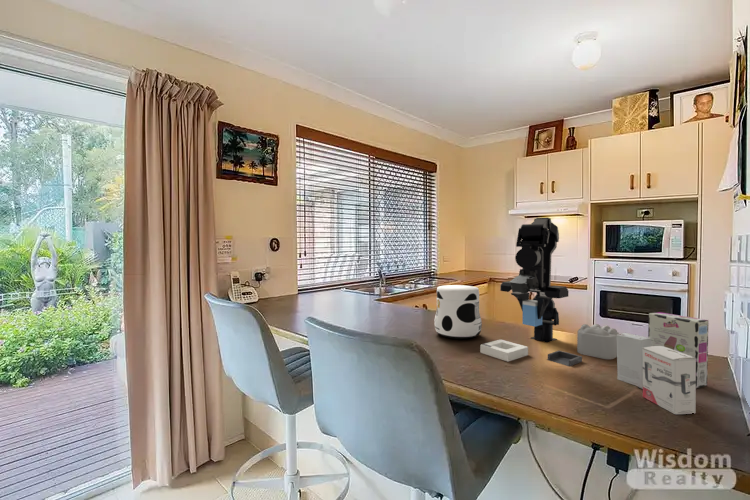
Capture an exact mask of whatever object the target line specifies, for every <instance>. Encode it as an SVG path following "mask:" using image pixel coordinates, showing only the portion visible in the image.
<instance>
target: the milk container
mask: <svg viewBox="0 0 750 500" xmlns="http://www.w3.org/2000/svg"><path fill="white" fill-rule="evenodd" d="M479 290H480V289H479V287H477V286H473V285H463V284H452V285H451V284H448V285H447V284H446V285H439V286H437V288H436V312H435V316H434V321H433V322H434V329H435V331H436V332H435V333H437V334H438V335H439V336H442V337H445V338H448V339H449V338H450V339H457V340H459V339H460V340H463V339H464V340H466V339H472V338H475V337H477V336H479V335H480V333H481V332H482V328H483V327H482V326H483V324H482V323H483V322H482V316H481V313H480V291H479Z"/></svg>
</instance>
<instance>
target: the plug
mask: <svg viewBox="0 0 750 500" xmlns="http://www.w3.org/2000/svg"><path fill="white" fill-rule="evenodd" d="M537 309H538V301H536V300H532V299H529V300H525V301H523V312H522V325H524V326H525V325H526V326H532V327H536V326H539V325H542V317H541V319H538V315H537Z"/></svg>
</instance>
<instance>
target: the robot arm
mask: <svg viewBox="0 0 750 500" xmlns="http://www.w3.org/2000/svg"><path fill="white" fill-rule="evenodd" d="M559 239H560V233H559V227H558V226H557V225H556V224H555V223H553V222H552V219H551V218H550V217H536V218H534V219H533V222H532V223H524V224H523V223H522V224H521V226H520V227H519V228H518V231H517V238H516V243H515V246H516V248H519V250H518V251H517V252H516V254H515V257H514V258H515V262H516V265H517V266H519V267H520V269H519V271H518V272H519V273H518V275H516V276H515V277H514V278H513V279H511V280H509V281H502V282H501V284H500V290H499V291H501V292H507V293H510V291H512V292H511V293H510V294H511V296H513V297H515V299H516V300H517V302H518V303H519V306H520V309H521V311H522V313H523V301H525V300H530V293H535V294H536V295H535V296H534V297H533V298H532V299H531V300H536V301H538V309H537V315H538V319H541V317H542V325H539V326H536V327H534V326H533V327H534V329H533V336H532V337H530V339H531V340H535V341H539V342H542V343H551V342H554V341H557V340H558V339H557V338H553V335H554V328H553V327H554V326H557V325H558V326H559V325H560V316H559V315H560V314H559V312H558V309H557V307H556V306H555V305H556V303H555V301H554V300H553V299H562V298H567V297H569V289H568V287H567V286H562V285H552V283H551V282H552V281H551V280H552V278H551V277H552V275H551V273H552V254H553V253H554V252H555V250H556V249H557V248H558V247H557V245H558V243H559V242H560V240H559ZM520 248H521V249H520ZM521 268H522V269H521Z"/></svg>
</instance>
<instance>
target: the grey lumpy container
mask: <svg viewBox="0 0 750 500" xmlns="http://www.w3.org/2000/svg"><path fill="white" fill-rule="evenodd" d="M618 334H620V332H618V330H617V329H616V328H611V327H610V325H607V324H606V325H603V326H601V325H600V324H598V323H594V324H592V325H590V326H589V325H588V324H585V323H584V324H582V325H581V326H580V328H579V329H578V330H577V335H576V336H577V337H576V338H577V341H576V343H577V344H576V346H577V347H576V349H577V351H576V352H577V353H578V354H580V355H581V356H589V357H594V358H596V359H597V358H598V359H603V360H613V359H615V358H616V359H617V335H618Z"/></svg>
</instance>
